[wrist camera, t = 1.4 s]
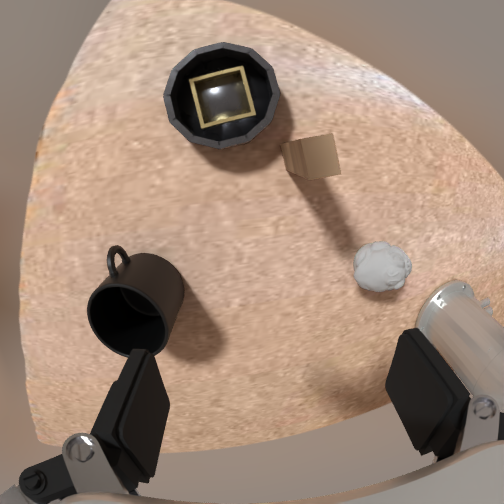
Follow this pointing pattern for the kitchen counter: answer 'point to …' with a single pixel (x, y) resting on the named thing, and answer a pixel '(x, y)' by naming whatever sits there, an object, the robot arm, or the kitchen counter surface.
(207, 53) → the dark grey round tray
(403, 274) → the frog figurine
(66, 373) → the kitchen counter surface
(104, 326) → the mug
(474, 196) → the kitchen counter surface
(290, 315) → the kitchen counter surface
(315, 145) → the brown rectangular bar
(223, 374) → the kitchen counter surface
